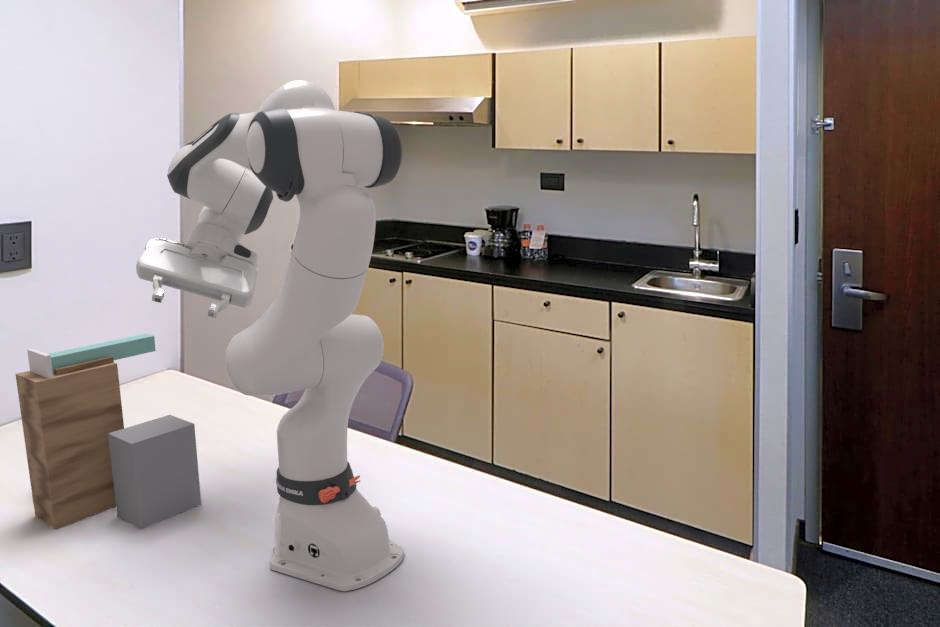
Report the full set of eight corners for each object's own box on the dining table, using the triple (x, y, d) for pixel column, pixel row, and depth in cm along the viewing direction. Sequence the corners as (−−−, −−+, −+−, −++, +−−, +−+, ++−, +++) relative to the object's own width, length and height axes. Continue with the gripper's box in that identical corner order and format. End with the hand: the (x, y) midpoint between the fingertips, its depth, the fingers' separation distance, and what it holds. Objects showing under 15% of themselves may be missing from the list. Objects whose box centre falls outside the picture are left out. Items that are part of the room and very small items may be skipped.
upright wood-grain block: (131, 500, 143) (116, 358, 137) (55, 529, 132) (35, 376, 126) (110, 489, 148) (94, 351, 142) (35, 516, 137) (14, 368, 131)
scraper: (161, 352, 145) (159, 332, 144) (48, 378, 128) (45, 356, 128) (141, 346, 149) (139, 327, 148) (30, 371, 133) (27, 349, 132)
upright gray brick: (201, 504, 141) (194, 423, 138) (140, 529, 132) (131, 444, 129) (177, 492, 146) (169, 414, 143) (117, 516, 137) (107, 433, 133)
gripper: (152, 223, 134) (121, 278, 125) (266, 256, 138) (244, 312, 129) (151, 246, 139) (122, 301, 130) (261, 278, 143) (240, 334, 134)
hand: (184, 307), depth 129 cm, fingers open, 8 cm apart
